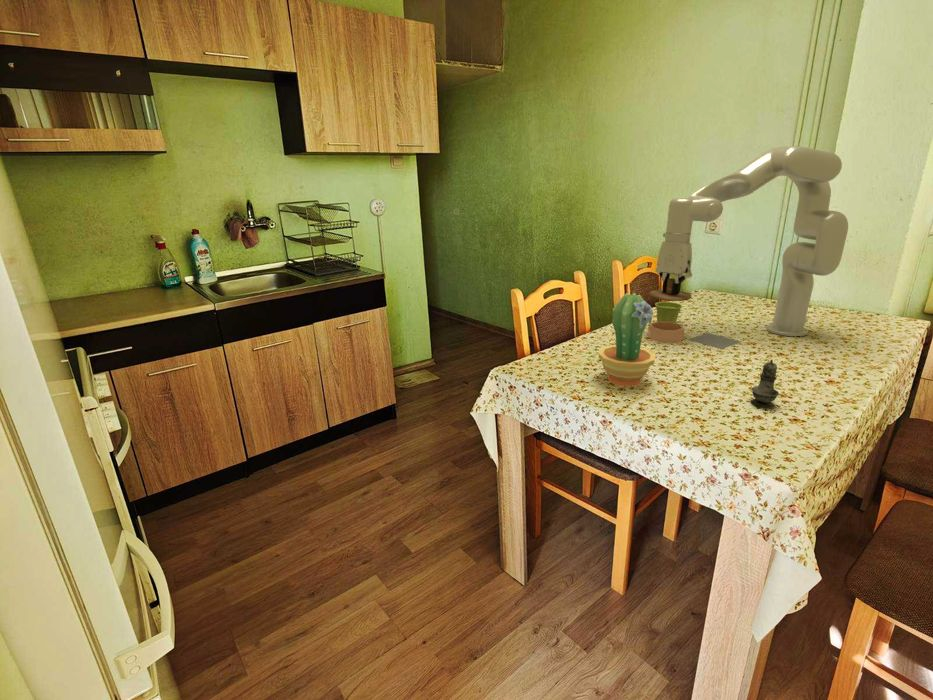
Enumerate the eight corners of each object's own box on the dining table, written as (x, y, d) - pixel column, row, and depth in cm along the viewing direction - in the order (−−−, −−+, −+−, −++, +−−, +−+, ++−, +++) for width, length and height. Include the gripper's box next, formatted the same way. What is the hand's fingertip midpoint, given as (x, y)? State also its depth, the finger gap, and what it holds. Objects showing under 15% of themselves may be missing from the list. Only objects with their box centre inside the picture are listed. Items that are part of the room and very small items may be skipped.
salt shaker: (744, 399, 124) (752, 355, 120) (765, 398, 124) (775, 354, 120) (758, 410, 118) (768, 364, 114) (781, 408, 119) (791, 363, 115)
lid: (665, 290, 172) (667, 274, 170) (699, 297, 161) (701, 280, 159) (641, 295, 165) (643, 278, 163) (675, 303, 155) (677, 285, 153)
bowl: (661, 333, 176) (662, 319, 174) (688, 340, 167) (690, 327, 165) (641, 338, 170) (643, 325, 169) (668, 347, 162) (670, 332, 160)
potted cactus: (599, 390, 131) (606, 300, 122) (593, 368, 145) (599, 287, 137) (658, 392, 129) (670, 301, 120) (646, 370, 143) (656, 287, 135)
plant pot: (674, 323, 186) (677, 301, 183) (682, 331, 178) (685, 308, 175) (649, 323, 187) (652, 301, 184) (656, 330, 178) (659, 308, 175)
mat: (707, 335, 172) (708, 332, 172) (741, 344, 162) (741, 341, 162) (687, 342, 166) (687, 339, 166) (720, 351, 156) (721, 348, 156)
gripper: (649, 236, 161) (643, 290, 168) (693, 241, 148) (685, 299, 155) (663, 234, 165) (657, 287, 171) (708, 239, 152) (699, 296, 158)
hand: (670, 292), depth 163 cm, fingers closed on lid, 3 cm apart
